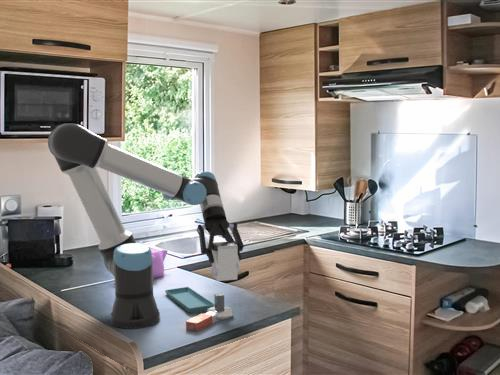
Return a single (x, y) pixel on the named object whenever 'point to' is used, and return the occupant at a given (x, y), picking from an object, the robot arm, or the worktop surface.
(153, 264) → the pink pitcher
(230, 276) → the tall white box
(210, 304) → the teal serving tray
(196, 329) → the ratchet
